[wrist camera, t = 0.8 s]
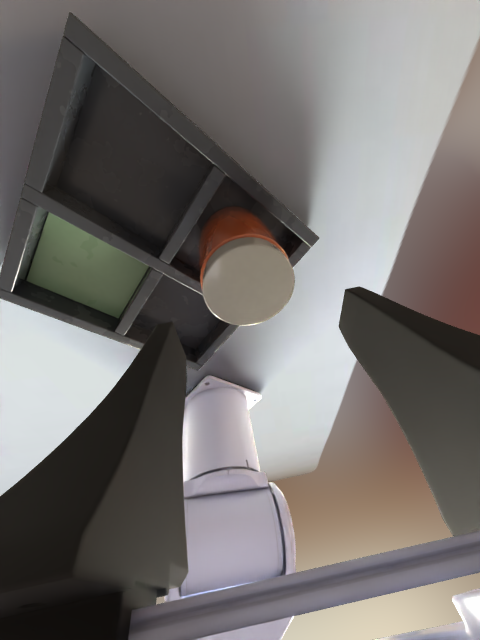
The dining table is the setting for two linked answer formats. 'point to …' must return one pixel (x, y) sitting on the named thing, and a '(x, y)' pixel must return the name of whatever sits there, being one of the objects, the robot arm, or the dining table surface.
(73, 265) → the rack
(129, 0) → the dining table surface
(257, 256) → the jar
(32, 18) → the dining table surface
